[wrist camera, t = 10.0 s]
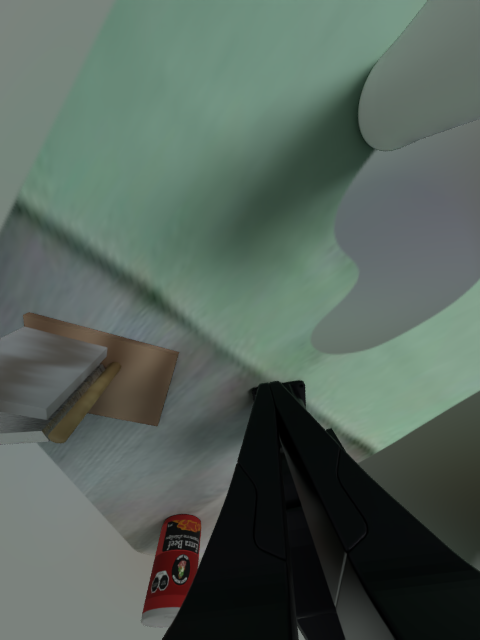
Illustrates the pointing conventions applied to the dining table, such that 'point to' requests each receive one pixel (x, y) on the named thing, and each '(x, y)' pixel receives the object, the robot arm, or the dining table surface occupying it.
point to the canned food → (172, 569)
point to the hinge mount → (81, 374)
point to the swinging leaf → (30, 430)
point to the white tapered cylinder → (425, 77)
